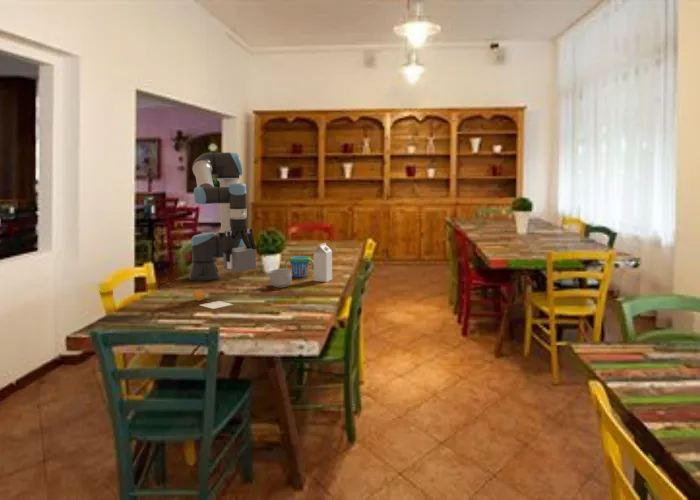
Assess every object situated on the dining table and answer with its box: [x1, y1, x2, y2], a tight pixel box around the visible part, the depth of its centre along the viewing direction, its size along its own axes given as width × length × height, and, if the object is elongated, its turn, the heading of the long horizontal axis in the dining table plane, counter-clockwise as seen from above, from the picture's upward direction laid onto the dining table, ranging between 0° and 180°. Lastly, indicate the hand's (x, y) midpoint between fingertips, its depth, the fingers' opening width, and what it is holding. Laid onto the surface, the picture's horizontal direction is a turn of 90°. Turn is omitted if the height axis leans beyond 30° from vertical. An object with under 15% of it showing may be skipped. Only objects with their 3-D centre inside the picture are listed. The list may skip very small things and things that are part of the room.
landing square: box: [199, 300, 234, 310], centre depth 243 cm, size 10×10×1 cm
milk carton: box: [313, 242, 333, 283], centre depth 295 cm, size 7×7×19 cm
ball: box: [192, 288, 206, 302], centre depth 251 cm, size 5×5×5 cm
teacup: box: [268, 268, 293, 289], centre depth 282 cm, size 14×11×8 cm
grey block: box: [222, 247, 257, 273], centre depth 262 cm, size 10×10×9 cm
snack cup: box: [284, 255, 314, 278], centre depth 306 cm, size 16×10×10 cm
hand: (239, 266), depth 263 cm, fingers closed on grey block, 10 cm apart
